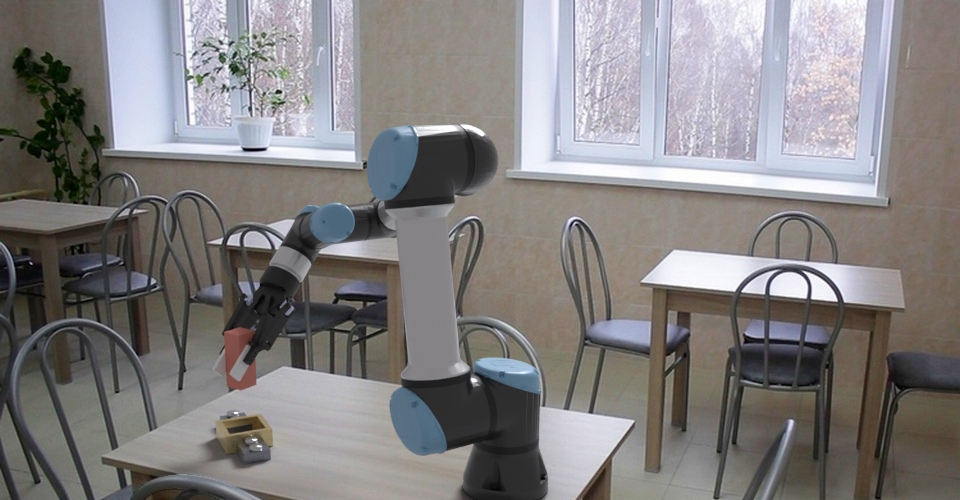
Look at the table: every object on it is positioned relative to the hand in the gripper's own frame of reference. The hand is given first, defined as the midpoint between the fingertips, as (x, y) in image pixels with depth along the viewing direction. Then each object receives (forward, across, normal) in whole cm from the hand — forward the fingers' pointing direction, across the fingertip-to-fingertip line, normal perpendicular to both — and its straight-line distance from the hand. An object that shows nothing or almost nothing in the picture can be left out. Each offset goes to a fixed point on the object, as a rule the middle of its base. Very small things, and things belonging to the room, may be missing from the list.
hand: (225, 375), depth 188 cm
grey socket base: (+8, 0, -13) cm, 15 cm away
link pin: (0, 0, -5) cm, 5 cm away
